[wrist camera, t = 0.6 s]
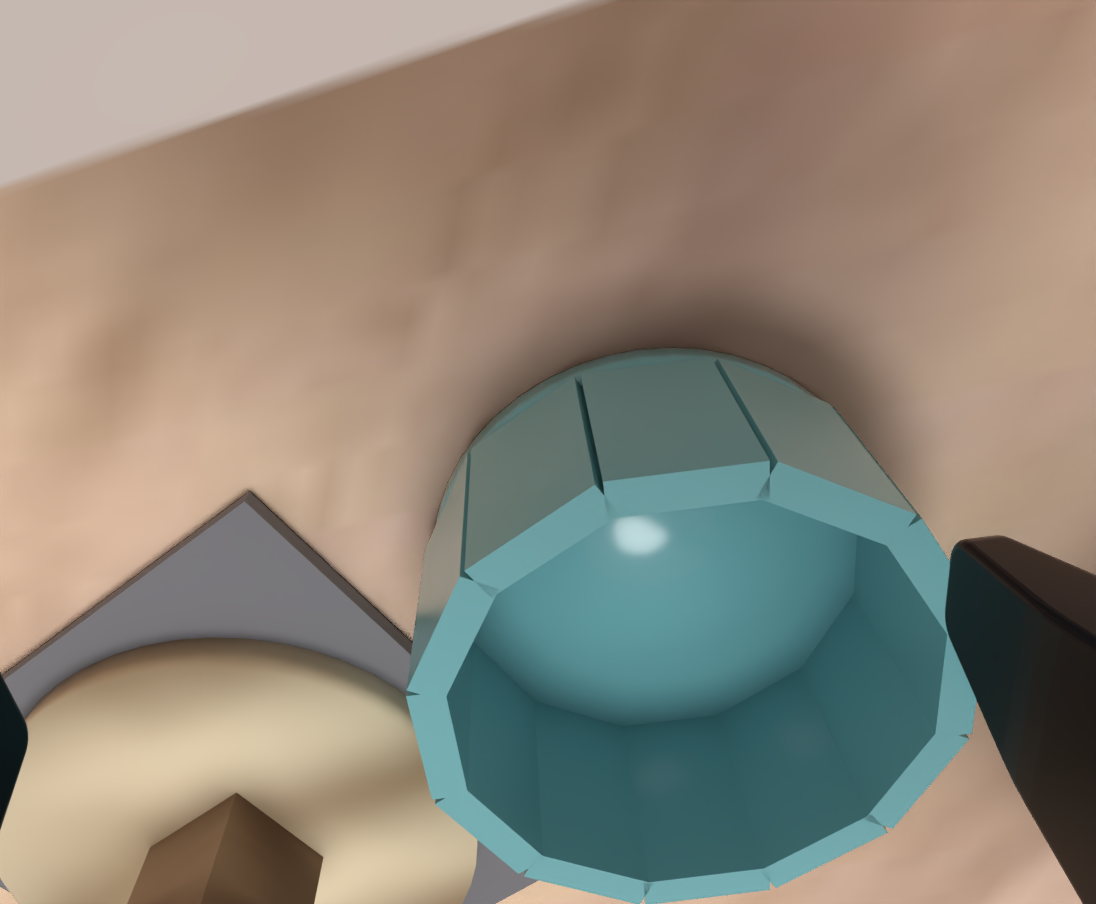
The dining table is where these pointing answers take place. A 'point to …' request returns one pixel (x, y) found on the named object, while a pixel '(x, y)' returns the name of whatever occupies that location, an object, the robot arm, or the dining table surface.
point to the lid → (227, 786)
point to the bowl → (679, 634)
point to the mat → (241, 623)
